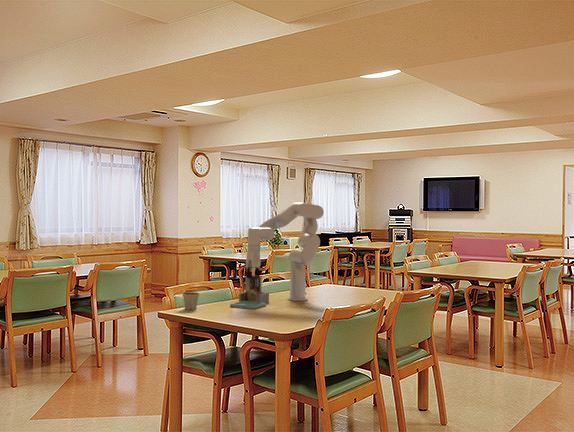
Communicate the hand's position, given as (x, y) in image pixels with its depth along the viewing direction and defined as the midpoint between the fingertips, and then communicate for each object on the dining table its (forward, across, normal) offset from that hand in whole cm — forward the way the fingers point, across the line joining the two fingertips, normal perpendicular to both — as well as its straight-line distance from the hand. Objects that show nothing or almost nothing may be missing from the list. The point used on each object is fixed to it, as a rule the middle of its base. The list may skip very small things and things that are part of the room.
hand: (253, 277), depth 330 cm
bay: (+15, 0, 0) cm, 15 cm away
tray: (+15, +12, +3) cm, 20 cm away
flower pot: (+16, +35, -20) cm, 43 cm away
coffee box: (+16, 0, 0) cm, 16 cm away
